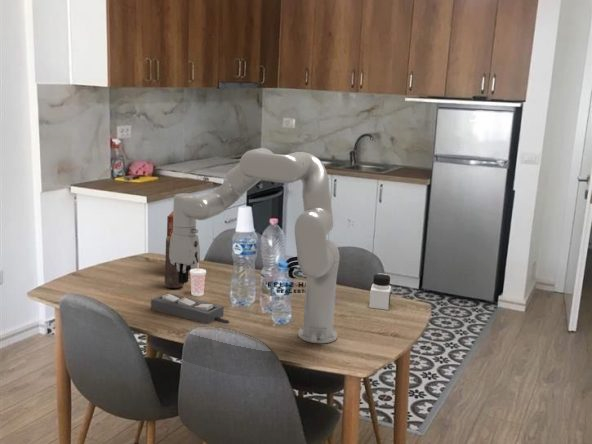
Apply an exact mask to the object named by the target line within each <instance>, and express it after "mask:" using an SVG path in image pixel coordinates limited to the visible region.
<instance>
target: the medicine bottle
mask: <svg viewBox="0 0 592 444" xmlns="http://www.w3.org/2000/svg"><path fill="white" fill-rule="evenodd" d="M390 284H391V277H390V275H388V274H385V273H376V274H374V275H373V280H372V284H371V288H370V292H369V305H368V306H369V308H370V309H377V310H385V311H389V310H390V305H391V297H392V296H391V293H392V292H391V291H392V286H391V285H390Z"/></svg>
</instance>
